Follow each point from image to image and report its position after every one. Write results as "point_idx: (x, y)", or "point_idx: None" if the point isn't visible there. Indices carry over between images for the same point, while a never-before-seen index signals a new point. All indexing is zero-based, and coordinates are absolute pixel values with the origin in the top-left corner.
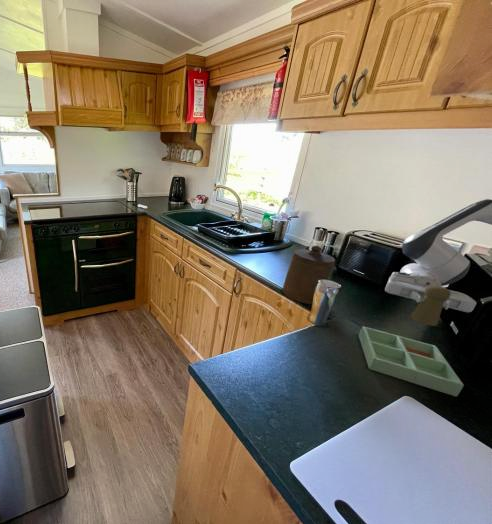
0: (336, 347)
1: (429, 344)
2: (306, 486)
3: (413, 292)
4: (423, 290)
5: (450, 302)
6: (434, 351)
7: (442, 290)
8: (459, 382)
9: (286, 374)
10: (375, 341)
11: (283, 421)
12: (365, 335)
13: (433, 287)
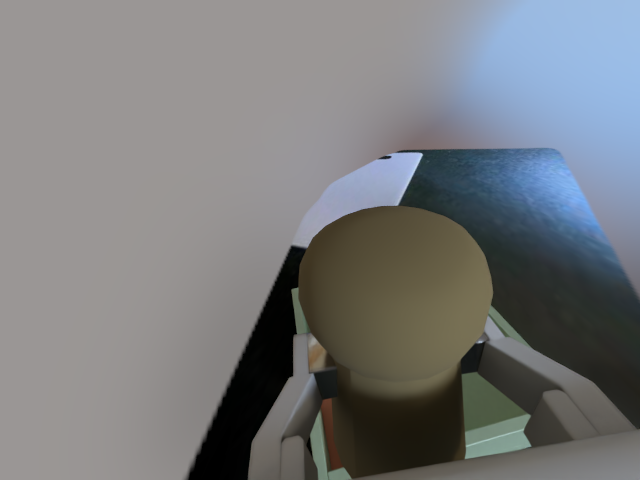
0: (531, 295)
1: (339, 477)
2: (407, 153)
3: (572, 373)
4: (542, 463)
5: (267, 426)
6: (323, 442)
7: (361, 210)
8: (296, 292)
9: (501, 191)
10: (499, 410)
11: (449, 163)
12: (521, 338)
13: (428, 213)
